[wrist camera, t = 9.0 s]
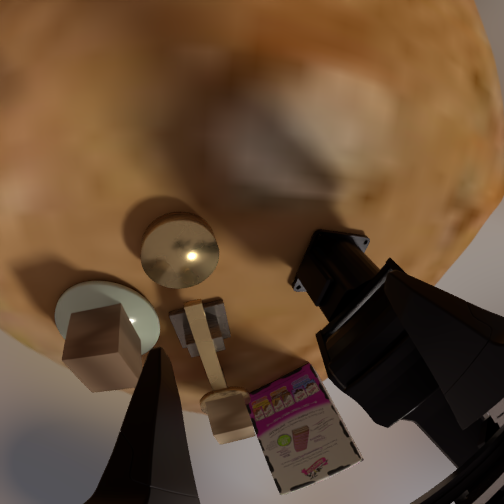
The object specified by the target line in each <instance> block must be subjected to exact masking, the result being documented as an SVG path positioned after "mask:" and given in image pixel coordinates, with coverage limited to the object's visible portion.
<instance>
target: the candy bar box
mask: <svg viewBox="0 0 504 504" xmlns="http://www.w3.org/2000/svg"><path fill="white" fill-rule="evenodd" d="M249 395H250V398H251V400H250V403H249V404H248V405H247V406H246V407H247V410H248V413H249V416H250V418H251V421H252V424H253V427H254V429H255V432H256V434H257V438H258V440H259V443H260V445H261V448H262V451H263V453H264V456H265V458H266V461H267V463H268V466H269V469H270V471H271V473H272V476H273V478H274V481H275V484H276V486H277V488H278V491H279V493H280V495H283V494H288V493H292V492H294V491H297V490H300V489H303V488H306V487H308V486H311V485H313V484H316V483H318V482H321V481H323V480H325V479H327V478H330V477H332V476H334V475H336V474H338V473H340V472H342V471H344V470H346V469H348V468H350V467H352V466H354V465H356V464H358V463H359V462H361V461H363V460H364V459H363V457H362V455H361V453H360V451H359V449H358V448H357V446H356V444H355V442H354V440H353V438H352V437H351V435H350V433H349V431H348V429H347V427H346V425H345V423H344V422H343V420H342V418H341V416H340V414H339V412H338V410H337V408H336V407H335V405H334V403H333V401H332V399H331V398H330V395H329V394H328V392H327V390H326V388H325V386H324V384H323V383H322V381H321V379H320V377H319V375H318V374H317V372H316V371H315V369H314V368H313V367H312V365H311V364H310V363H308V364H306V365H304V366H302V367H301V368H299V369H297V370H295V371H293V372H291V373H289V374H288V375H286V376H284V377H282V378H280V379H278V380H276V381H274V382H272V383H270V384H268V385H266V386H264V387H262V388H260V389H258V390H256V391H254V392H252V393H250V394H249Z"/></svg>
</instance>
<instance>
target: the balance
mask: <svg viewBox="0 0 504 504" xmlns="http://www.w3.org/2000/svg"><path fill="white" fill-rule="evenodd" d="M218 259H219V248H218V245H217V242H216V239H215V236H214V233H213V231H212V229H211V227H210V226H209V225H208V223H207V222H206V221H205V220H203V219H202V218H200V217H199V216H197V215H194V214H191V213H187V212H173V213H169V214H165V215H163V216H161V217H159V218H157V219H156V220H155V221H153V222H152V223H151V224H150V225H149V226H148V228H147V229H146V231H145V233H144V235H143V239H142V246H141V263H142V267H143V269H144V271H145V273H146V274H147V275H148V276H149V278H150V279H152V280H153V281H154V282H156V283H157V284H159V285H162V286H164V287H168V288H176V289H180V288H188V287H191V286H194V285H197V284H199V283H201V282H202V281H204V280H205V279H206V278H208V277H209V276H210V275H211V274H212V272H213V271H214V269H215V268H216V266H217V263H218ZM169 317H170V319H171V322H172V324H173V327H174V329H175V331H176V333H177V336H178V338H179V340H180V343H181V345H182V347H183V348H188V350H189V353H190V355H191V357H196V356H200V357H201V360H202V362H203V365H204V368H205V371H206V373H207V376H208V379H209V381H210V384H211V387H212V389H213V391H211V392H209V393H207V394H205V395H204V396H203V397H202V398H201V399H200V406H201V410H202V411H203V412H204V413H207V409H206V404H205V402H208V401H212V400H217V399H221V398H225V397H229V396H233V395H237V394H241V393H242V395H243V398H244V401H245V404H246V406H247V405H248V404H249V403H250V400H251V398H250V395H249V392H248V390H247V389H245V388H242V387H227V384H226V380H225V376H224V373H223V369H222V368H221V367H220V364H219V360H218V357H217V354H216V352H217V351H221V350H225V346H224V342H223V339H225V338H229V337H231V335H230V330H229V326H228V321H227V316H226V311H225V307H224V302H223V300H218V301H214V302H210V303H206V304H202V301H201V299H197V300H193V301H189V302H184V309H180V310H176V311H171V312H169ZM207 414H208V413H207Z"/></svg>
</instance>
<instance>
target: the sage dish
mask: <svg viewBox="0 0 504 504" xmlns="http://www.w3.org/2000/svg"><path fill="white" fill-rule="evenodd" d="M119 303H121V304H122V306H123V308H124V310H125V312H126V314H127V316H128V317H129V319H130V321H131V323H132V325H133V327H134V329H135V331H136V332H137V334H138V336H139V338H140V340H141V355H143V354H145V353H146V352H148V351H149V350H150V349H151V348H152V347H153V346H154V345H155V344H156V342H157V340H158V338H159V334H160V324H159V318H158V315H157V312H156V310H155V309H154V307H153V306H152V305H151V303H150V302H149V301H148V300H147V299H146V298H145V297H143V296H142V295H141V294H139V293H138V292H136V291H134V290H133V289H131V288H128V287H126V286H123V285H121V284H118V283H113V282H108V281H87V282H82V283H79V284H76V285H74V286H72V287H70V288H69V289H67V290H66V291H65V292H64V293H63V294H62V295H61V297H60V298H59V300H58V303H57V306H56V309H55V322H56V326H57V328H58V330H59V332H60V334H61V335H62V337H63V338H64V339H66V334H67V329H68V324H69V320H70V315H71V313H75V312H80V311H85V310H90V309H95V308H100V307H105V306H110V305H114V304H119Z"/></svg>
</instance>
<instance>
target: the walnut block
mask: <svg viewBox="0 0 504 504" xmlns="http://www.w3.org/2000/svg"><path fill="white" fill-rule="evenodd" d="M62 361H63V362H64V363H65V365H66V366H67V367H68V368H69V369H70V370H71V371H72V372H73V373H74V374H75V375H76V377H78V379H79V380H80V381H81V382H82V383H83V384H84V385H85V386H86V387H87V388H88V389H89V390H90V391H91V392H102V391H111V390H120V389H128V388H135V387H136V385H137V382H138V379H139V377H140V374H141V372H142V355H141V340H140V338H139V336H138V334H137V332H136V331H135V329H134V327H133V325H132V323H131V321H130V319H129V317H128V316H127V314H126V312H125V310H124V308H123V306H122V304H121V303H119V304H114V305H110V306H105V307H100V308H95V309H90V310H85V311H80V312H75V313H71V315H70V320H69V324H68V329H67V334H66V339H65V344H64V350H63V356H62Z"/></svg>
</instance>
